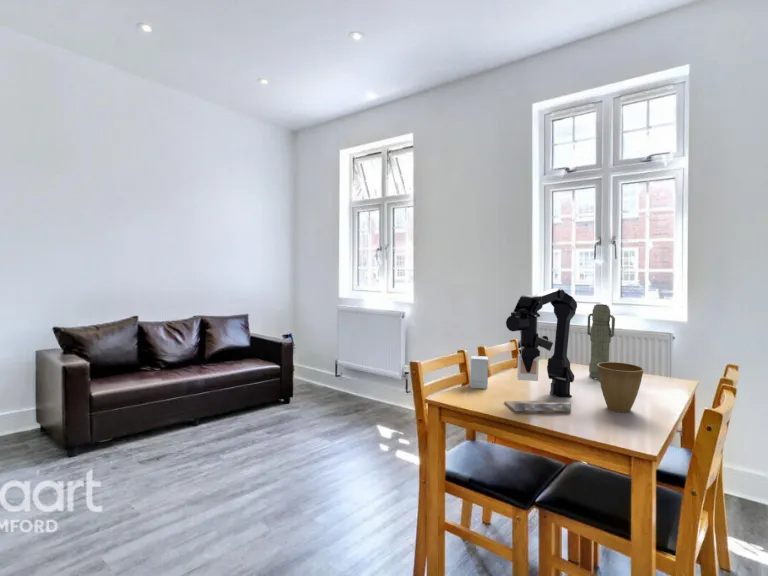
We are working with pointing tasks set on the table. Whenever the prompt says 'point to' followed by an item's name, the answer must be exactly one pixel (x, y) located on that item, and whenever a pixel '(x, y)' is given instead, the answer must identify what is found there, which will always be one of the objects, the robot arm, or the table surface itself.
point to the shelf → (538, 406)
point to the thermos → (600, 337)
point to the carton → (522, 372)
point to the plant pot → (619, 384)
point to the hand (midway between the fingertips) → (527, 371)
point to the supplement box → (479, 372)
